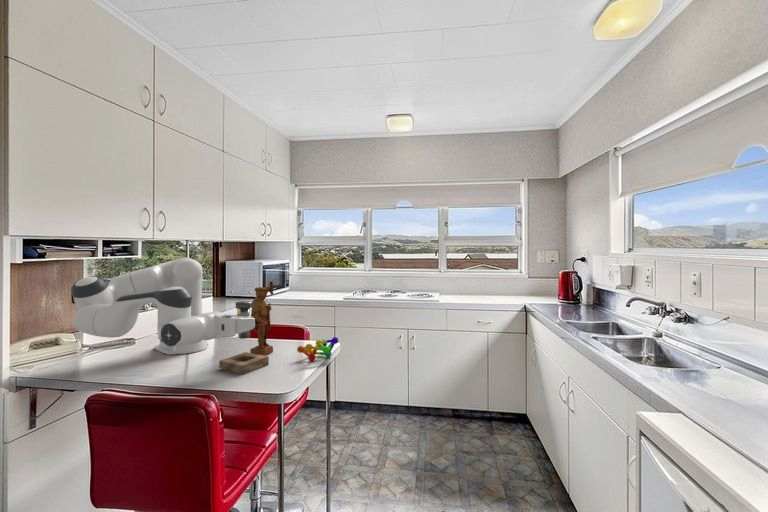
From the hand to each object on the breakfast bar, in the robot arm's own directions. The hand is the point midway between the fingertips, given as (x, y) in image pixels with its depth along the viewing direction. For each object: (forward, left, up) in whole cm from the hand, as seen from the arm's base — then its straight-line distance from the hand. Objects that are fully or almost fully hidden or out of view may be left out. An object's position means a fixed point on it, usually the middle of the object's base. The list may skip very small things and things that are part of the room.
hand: (245, 317), depth 142 cm
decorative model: (+18, +20, -18) cm, 32 cm away
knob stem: (0, -1, -7) cm, 7 cm away
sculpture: (-6, +14, -18) cm, 24 cm away
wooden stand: (0, -1, -18) cm, 18 cm away
